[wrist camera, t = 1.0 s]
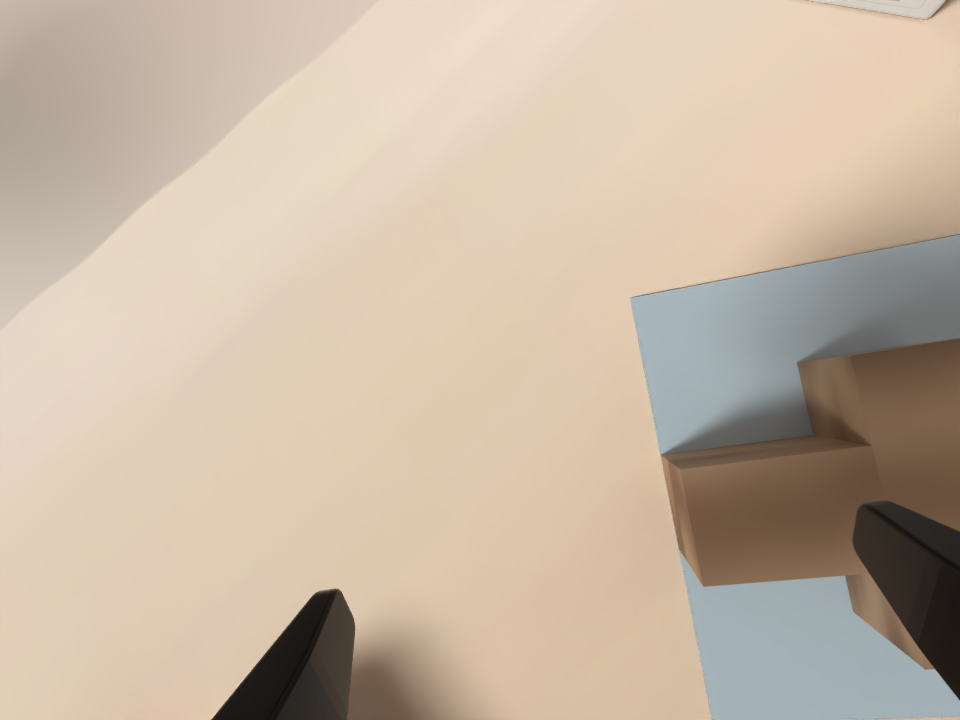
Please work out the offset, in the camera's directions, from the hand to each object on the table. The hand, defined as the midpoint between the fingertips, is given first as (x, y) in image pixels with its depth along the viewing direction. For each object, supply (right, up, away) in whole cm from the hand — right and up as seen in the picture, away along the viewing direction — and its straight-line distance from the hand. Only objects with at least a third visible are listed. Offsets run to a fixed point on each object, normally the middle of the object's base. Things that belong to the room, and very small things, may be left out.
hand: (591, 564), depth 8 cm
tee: (+11, -2, +11) cm, 16 cm away
